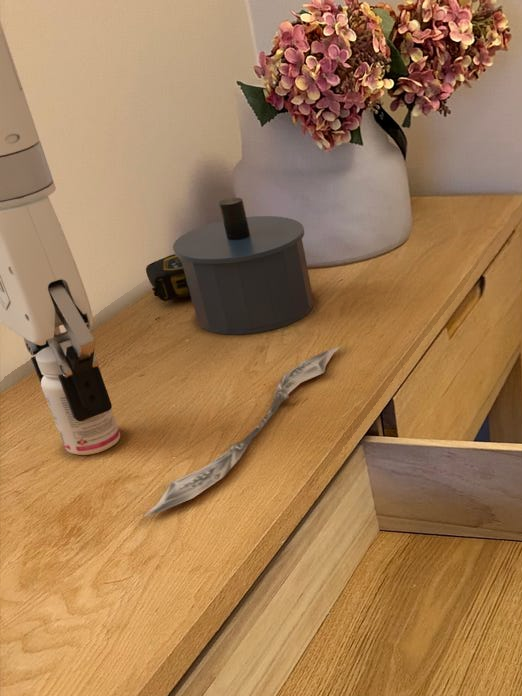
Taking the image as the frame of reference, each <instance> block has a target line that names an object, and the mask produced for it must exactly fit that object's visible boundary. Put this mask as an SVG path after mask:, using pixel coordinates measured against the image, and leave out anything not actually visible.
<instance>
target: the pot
mask: <svg viewBox="0 0 522 696" xmlns="http://www.w3.org/2000/svg"><path fill="white" fill-rule="evenodd" d="M181 262H182V266H183V269H184V273H185V277H186V281H187V284H188V288H189V292H190V295H191V296H190V299H191V303H192V306H193V310H194V315H195V317H196V321H197V324H198V325H199V326H200V327H201V329H204V330H205V331H207V332H210V333H214V334H220V335H234V336H235V335H252V334H258V333H264V332H268V331H273V330H276V329H280V328H283V327H286V326H289V325H291V324H293V323H295V322H298V321H299V320H301V319H303V318H304V317H306V316H307V315H308V314H309V313H310V312H311V311H312V310H313V309H312V308H313V307H314V296H313V295H314V294H313V290H312V284H311V279H310V274H309V270H308V264H307V258H306V253H305V247H304V242H303V238H302V239H301V240H300V241H299V242H298V243H296V244H295V245H293V246H291V247H290V248H288V249H285V250H283V251H281V252H278V253H275V254H272V255H269V256H265V257H261V258H257V259H253V260H247V261H241V262H234V263H222V264H203V263H194V262H189V261H185V260H182V259H181Z"/></svg>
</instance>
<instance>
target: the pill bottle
mask: <svg viewBox="0 0 522 696" xmlns="http://www.w3.org/2000/svg"><path fill="white" fill-rule="evenodd" d="M70 343H71V341H65V342H63V343H60V345H61V347H62V349H63V351H64V354H65V356H66V350H67V347H70V346H71V344H70ZM35 356H36V361H37V363H38V366H39V369H40V371H41V373H42V375H44V376H43V378H42V380H41V383H40V387H41V389H42V392H43V395H44V397H45V400H46V403H47V406H48V408H49V410H50V413H51V416H52V419H53V421H54V423H55V425H56V428H57V431H58V433H59V436H60V439H61V441H62V444H63V446H64V448H65V450H66V451H67V452H69V453H70V454H73V455H79V456H88V455H95V454H98V453H101V452H104V451H106V450H108V449H111V448H112V447H113V446H114V445H116V444H117V443H118V442H119V441H120V438H121V432H120V429H119V426H118V423H117V421H116V417H115V414H114V412H113V408H111V409H110V410H109V411H107V412H104V413H102V414H99V415H96V416H94V417H91V418H89V419H86V420H84V421H77V420H76V419H75V418H74V417H73V415H72V412H71V409H70V407H69V404H68V401H67V398H66V396H65V393H64V390H63V388H62V385H61V382H60V380H59V377H58V376H59V375H61V374H62V372H61V370H60V368H59V366H58V364H57V361H56V359H55V357H54V355H53V353H52V350H51V348H50V346H48V347H46V348H44V349H42V350H41V351H39V352H38V353H37V354H36V355H35Z"/></svg>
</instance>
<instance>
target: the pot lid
mask: <svg viewBox="0 0 522 696" xmlns="http://www.w3.org/2000/svg"><path fill="white" fill-rule="evenodd" d="M243 200H244V199H243V198H241V197H228V198H224V199H222V200H220V201H219V202H218V205H219V210H220V214H221V217H222V218H221V220H220V221H216V222H212V223H209V224H205V225H203V226H200V227H197V228H194V229H192V230H190V231H187V232H186V233H185V234H182V235H181V236H180V237H178V238H177V239H176V240H175V241H174V243H173V245H172V250H173V253H174V254H175V255H176V256H177V257H178V258H180V259H182V260H185V261H189V262H194V263H203V264H222V263H234V262H241V261H247V260H253V259H257V258H261V257H265V256H269V255H272V254H275V253H278V252H281V251H283V250H285V249H288V248H290V247H291V246H293V245H295V244H296V243H298V242H299V241H300V240H301V239H302V240H303V238H304V236H305V227H304V225H303V224H302V223H301V222H300V221H298V220H296V219H293V218H289V217H285V216H284V217H283V216H277V215H276V216H275V215H273V216H272V215H257V216H247V213H246V210H245V205H244V201H243Z"/></svg>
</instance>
